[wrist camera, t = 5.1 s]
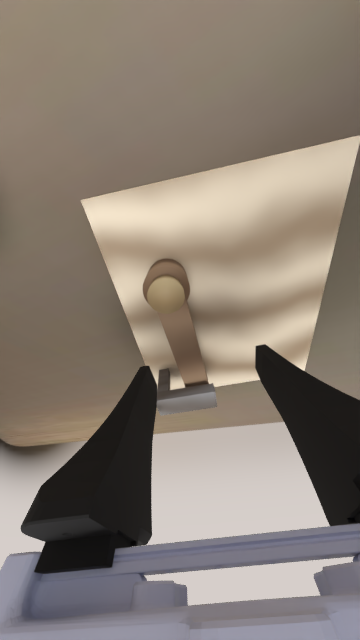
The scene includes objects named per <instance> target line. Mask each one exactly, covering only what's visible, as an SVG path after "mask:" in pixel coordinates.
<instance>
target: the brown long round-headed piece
mask: <svg viewBox="0 0 360 640" xmlns="http://www.w3.org/2000/svg"><path fill="white" fill-rule="evenodd" d="M161 275H171V276H174V277H176V278H177V279H178V280H179V281H180V282H181V283H182V285H183V289H184V294H185V299H184V303H183V305H182V306H181V308H180V309H179V310H177V311H176V312H173V313H170V314H163V313H159V312H157V313H158V315H159V318H160V321H161V323H162V326H163V329H164V331H165V334H166V337H167V339H168V342H169V345H170V348H171V350H172V353H173V356H174V358H175V361H176V364H177V366H178V369H179V372H180V374H181V377H182V380H183V382H184V385H185V388H186V387H192V386H199V385H205V384H209V382H208V377H207V374H206V370H205V366H204V362H203V358H202V355H201V351H200V347H199V343H198V339H197V336H196V332H195V328H194V324H193V320H192V317H191V313H190V309H189V305H188V302H187V300H188V298H189V295H190V285H189V281H188V277H187V274H186V271H185V269H184V267H183V266H182V265H181V264H180V263H179V262H177V261H175V260H173V259H161V260H158V261H157V262H155V263H154V264H153V265H152V266H151V267H150V269H149V271H148V273H147V276H146V278H145V280H144V283H143V295H144V298H145V300H146V301H147V303H148V304H149V302H148V299H147V293H148V289H149V287H150V284H151V282H152V281H153V280H154V279H155V278H156V277H158V276H161ZM149 305H150V304H149Z"/></svg>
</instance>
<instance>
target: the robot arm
mask: <svg viewBox="0 0 360 640" xmlns="http://www.w3.org/2000/svg"><path fill="white" fill-rule="evenodd" d="M255 369H256V371H257V373H258V376H259V378H260V380H261V382H262V384H263V386H264V388H265V389H266V391H267V393H268V394H269V396H270V398H271V400H272V401H273V403H274V405H275V406H276V408H277V410H278V411H279V413H280V415H281V417H282V418H283V420H284V422H285V424H286V426H287V428H288V430H289V432H290V434H291V437H292V438H293V441H294V443H295V445H296V447H297V450H298V452H299V454H300V456H301V458H302V460H303V463H304V465H305V467H306V470H307V472H308V474H309V477H310V479H311V481H312V484H313V486H314V488H315V491H316V493H317V496H318V498H319V500H320V503H321V505H322V507H323V510H324V513H325V515H326V518H327V520H328V522H329V524H330V527H319V528H310V529H300V530H290V531H282V532H271V533H262V534H252V535H243V536H233V537H224V538H214V539H205V540H194V541H185V542H175V543H166V544H156V545H146V544H147V543H148V541H149V540H150V538H151V536H152V521H151V465H152V463H151V461H152V440H153V430H154V422H155V414H156V406H157V383H156V381H155V379H154V376H153V374H152V371H151V369H150V367H149V366H143V367H140V368H139V370H138V372H137V374H136V375H135V377H134V379H133V380H132V382H131V384H130V385H129V387H128V389H127V390H126V392H125V393H124V395H123V397H122V398H121V400H120V401H119V402H118V404H117V405H116V407H115V408H114V410H113V411H112V412H111V414H110V415H109V416H108V418H107V419H106V420H105V422H104V423H103V424H102V425H101V426H100V428H99V429H98V430H97V431H96V432H95V433H94V434H93V436H92V437H91V438H90V439H89V440H88V441H87V443H85V445H84V446H83V447H82V448H81V449H80V450H79V451H78V452H77V453H76V454H75V455H74V456H73V457H72V458H71V459H70V460H69V461H68V462H67V463H66V464H65V465H64V466H63V467H61V468H60V469H59V470H58V471H57V472H56V473H55V474H54V475H53V476H52V477H50V478H49V479H48V480H47V481H46V482H45V483H44V484H43V485H42V486H41V487H40V489H39V491H38V493H37V495H36V497H35V499H34V501H33V503H32V505H31V507H30V509H29V511H28V513H27V515H26V517H25V519H24V521H23V523H22V525H21V531H22V532H23V533H24V534H26V535H28V536H30V537H33V538H36V539H39V540H42V541H45V545H44V548H43V550H42V552H26V553H17V554H10V555H9V556H8V557H7V558H6V560H5V562H4V564H3V566H2V569H1V571H0V640H360V400H358V399H356V398H354V397H351V396H349V395H347V394H345V393H343V392H341V391H339V390H337V389H335V388H333V387H331V386H329V385H327V384H326V383H324V382H322V381H320V380H318V379H316V378H315V377H313V376H311V375H310V374H308V373H306V372H305V371H303V370H302V369H300V368H298V367H297V366H295V365H294V364H292V363H291V362H289V361H288V360H287V359H285V358H284V357H282V356H281V355H279V354H278V353H277V352H275V351H274V350H273V349H271V348H270V347H268V346H267V345H266V344H263V345H258V346H256V349H255ZM141 545H146V546H141ZM132 546H137V547H132ZM352 556H355V557H354V558H353V562H351V563H345V564H338V565H333V566H326V567H323V570H322V571H321V572H318V573H316V574H314V579H315V582H316V584H317V587H318V589H319V592H320V595H321V596H308V597H292V598H279V599H264V600H251V601H238V602H226V603H214V604H202V605H192V606H188V605H187V587H186V586H185V585H180V584H176V583H174V581H147V580H146V578H145V577H144V575H155V574H165V573H177V572H187V571H198V570H208V569H220V568H231V567H242V566H252V565H263V564H275V563H286V562H297V561H308V560H319V559H330V558H340V557H352Z"/></svg>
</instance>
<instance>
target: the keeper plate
mask: <svg viewBox="0 0 360 640" xmlns="http://www.w3.org/2000/svg"><path fill="white" fill-rule="evenodd" d="M359 143H360V135H359V136H355V137H350V138H346V139H342V140H337V141H333V142H329V143H324V144H320V145H316V146H312V147H307V148H303V149H299V150H294V151H290V152H286V153H281V154H277V155H273V156H269V157H264V158H260V159H256V160H251V161H247V162H243V163H238V164H234V165H230V166H226V167H221V168H217V169H213V170H208V171H204V172H200V173H195V174H191V175H187V176H183V177H178V178H174V179H170V180H165V181H161V182H157V183H152V184H148V185H144V186H140V187H135V188H131V189H127V190H122V191H118V192H114V193H109V194H105V195H101V196H97V197H92V198H88V199H84V200H81V202H82V204H83V207H84V210H85V212H86V215H87V217H88V220H89V222H90V225H91V227H92V230H93V232H94V235H95V237H96V240H97V243H98V245H99V248H100V250H101V253H102V255H103V258H104V260H105V263H106V265H107V268H108V271H109V273H110V276H111V278H112V281H113V283H114V286H115V288H116V291H117V293H118V296H119V298H120V301H121V304H122V306H123V309H124V311H125V314H126V316H127V319H128V321H129V324H130V326H131V329H132V332H133V334H134V337H135V339H136V342H137V344H138V347H139V349H140V352H141V354H142V357H143V360H144V362H145V365H146V366H149V367H150V369H151V371H152V374H153V376H154V379H155V381H156V383H157V408H158V411H159V413H160V416H161V415H167V414H174V413H180V412H187V411H193V410H200V409H206V408H213V407H217V401H216V394H215V389H214V387H217V386H223V385H229V384H236V383H242V382H248V381H254V380H260V378H259V376H258V373H257V371H256V369H255V349H256V346H258V345H263V344H266V345H267V346H268V347H270V348H271V349H273V350H274V351H275V352H277V353H278V354H279V355H281V356H282V357H284V358H285V359H287V360H288V361H289V362H291V363H292V364H294V365H295V366H297V367H298V368H300V369H302V370H303V371H304V370H305V366H306V362H307V358H308V354H309V350H310V346H311V341H312V337H313V333H314V329H315V325H316V321H317V317H318V312H319V308H320V304H321V300H322V296H323V292H324V288H325V283H326V279H327V275H328V271H329V267H330V263H331V259H332V254H333V250H334V246H335V242H336V238H337V234H338V230H339V226H340V221H341V217H342V213H343V209H344V205H345V201H346V197H347V192H348V188H349V184H350V180H351V176H352V172H353V168H354V163H355V159H356V155H357V151H358V147H359ZM161 259H173V260H175V261H177V262H179V263H180V264H181V265H182V266H183V267H184V269H185V271H186V274H187V277H188V281H189V285H190V295H189V298H188V300H187V302H188V305H189V309H190V313H191V317H192V320H193V324H194V328H195V332H196V336H197V339H198V343H199V347H200V351H201V355H202V358H203V362H204V366H205V370H206V374H207V377H208V382H209V384H205V385H199V386H192V387H186V388H185V385H184V382H183V380H182V377H181V374H180V372H179V369H178V366H177V364H176V361H175V358H174V356H173V353H172V350H171V348H170V345H169V342H168V339H167V337H166V334H165V331H164V329H163V326H162V323H161V321H160V318H159V315H158V313H157V312H159V313H163V314H170V313H173V312H176V311H177V310H179V309H180V308H181V306H182V305H183V303H184V299H185V294H184V289H183V285H182V283H181V282H180V281H179V280H178V279H177V278H176V277H174V276H171V275H161V276H158V277H156V278H155V279H154V280H153V281H152V282H151V284H150V287H149V289H148V293H147V299H148V302H149V304H150V305H149V304H148V303H147V301H146V300H145V298H144V295H143V283H144V280H145V278H146V276H147V273H148V271H149V269H150V267H151V266H152V265H153V264H154V263H155V262H157V261H158V260H161Z"/></svg>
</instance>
